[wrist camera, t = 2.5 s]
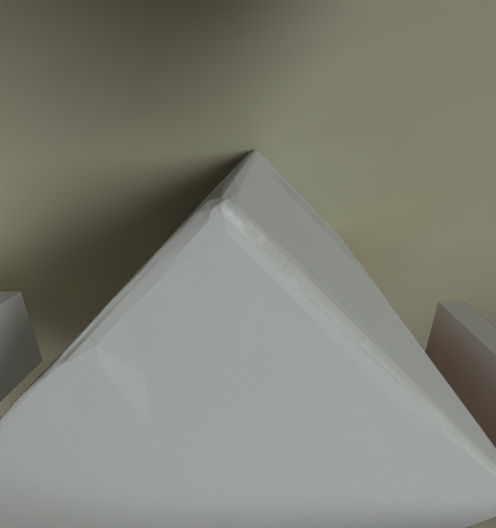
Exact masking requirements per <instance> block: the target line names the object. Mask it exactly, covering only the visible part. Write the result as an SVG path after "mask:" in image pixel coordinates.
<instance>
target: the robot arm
mask: <svg viewBox="0 0 496 528" xmlns="http://www.w3.org/2000/svg"><path fill="white" fill-rule="evenodd" d="M425 353H426V354H427V356H428V357H429V358H430V360H431V361H432V362H433V364H434V365H435V366H436V368H437V369H438V370H439V372H440V373H441V375H442V376H443V377H444V379H445V380H446V381H447V383H448V384H449V385H450V387H451V388H452V389H453V391H454V392H455V393H456V395H457V396H458V398H459V399H460V400H461V402H462V403H463V404H464V406H465V407H466V408H467V410H468V411H469V412H470V414H471V415H472V416H473V418H474V419H475V421H476V422H477V423H478V425H479V426H480V427H481V429H482V430H483V431H484V433H485V434H486V436H487V437H488V438H489V440H490V441H491V443H492V444H493V445H494V447H495V448H496V327H494V326H493V325H492V324H491V323H489V322H488V321H487V320H486V319H485V318H483V317H482V316H481V315H480V314H478V313H477V312H476V311H475V310H473V309H472V308H471V307H470V306H468V305H467V304H466V303H465V302H438V305H437V309H436V313H435V317H434V321H433V325H432V329H431V332H430V336H429V340H428V344H427V348H426V352H425ZM40 362H42V358H41V354H40V351H39V348H38V345H37V341H36V338H35V335H34V332H33V329H32V325H31V322H30V319H29V316H28V312H27V309H26V306H25V303H24V300H23V296H22V293H21V292H17V291H0V402H1V401H2V400H3V399H4V398H5V397H6V396H7V395H8V394H9V393H10V392H11V391H12V390H13V389H14V388H15V387H16V386H17V385H18V384H19V383H20V382H21V381H22V380H23V379H24V378H25V377H26V376H27V375H28V374H29V373H30V372H31V371H32V370H33V369H34V368H35V367H36V366H37V365H38V364H39V363H40Z"/></svg>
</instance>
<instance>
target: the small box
mask: <svg viewBox="0 0 496 528" xmlns="http://www.w3.org/2000/svg"><path fill="white" fill-rule="evenodd" d="M493 517H496V448H495V447H494V445H493V444H492V443H491V441H490V440H489V438H488V437H487V436H486V434H485V433H484V431H483V430H482V429H481V427H480V426H479V425H478V423H477V422H476V421H475V419H474V418H473V416H472V415H471V414H470V412H469V411H468V410H467V408H466V407H465V406H464V404H463V403H462V402H461V400H460V399H459V398H458V396H457V395H456V393H455V392H454V391H453V389H452V388H451V387H450V385H449V384H448V383H447V381H446V380H445V379H444V377H443V376H442V375H441V373H440V372H439V370H438V369H437V368H436V366H435V365H434V364H433V362H432V361H431V360H430V358H429V357H428V356H427V354H426V353H425V352H424V350H423V349H422V347H421V346H420V345H419V343H418V342H417V341H416V339H415V338H414V337H413V335H412V334H411V332H410V331H409V330H408V328H407V327H406V326H405V324H404V323H403V322H402V320H401V319H400V318H399V316H398V315H397V314H396V312H395V311H394V310H393V308H392V307H391V306H390V304H389V303H388V301H387V300H386V299H385V297H384V296H383V294H382V293H381V292H380V290H379V289H378V288H377V286H376V285H375V284H374V282H373V281H372V280H371V278H370V277H369V276H368V274H367V273H366V272H365V270H364V269H363V267H362V266H361V265H360V263H359V262H358V261H357V259H356V258H355V257H354V255H353V254H352V253H351V252H350V250H349V249H348V247H347V246H346V245H345V243H344V242H343V241H342V239H341V238H340V237H339V236H338V234H337V233H336V232H335V231H334V230H333V229H332V228H331V227H330V226H329V225H328V224H327V223H326V221H325V220H324V219H323V218H322V217H321V216H320V215H319V214H318V213H317V212H316V211H315V210H314V209H313V208H312V207H311V206H310V205H309V204H308V203H307V202H306V201H305V199H304V198H303V197H302V196H301V195H300V194H299V193H298V192H297V191H296V190H295V189H294V188H293V187H292V186H291V185H290V184H289V183H288V182H287V181H286V180H285V179H284V178H283V176H282V175H281V174H280V173H279V172H278V171H277V170H276V169H275V168H274V167H273V166H272V165H271V164H270V163H269V162H268V161H267V160H266V159H265V158H264V157H263V156H262V155H261V154H260V153H259V152H258V151H257V150H255V149H253V150H252V151H251V152H250V153H248V155H247V156H246V157H245V158H244V159H243V160H242V161H241V162H240V163H239V164H238V165H237V166H236V167H235V168H234V169H233V170H232V171H231V172H230V173H229V174H228V175H227V176H226V177H225V178H224V179H223V180H222V181H221V182H220V183H219V184H218V186H217V187H216V188H215V189H214V190H213V191H212V192H211V193H210V194H209V195H208V196H207V197H206V198H205V200H204V201H203V202H202V203H201V204H200V205H199V206H198V207H197V208H196V209H195V210H194V211H193V212H192V213H191V215H190V216H189V217H188V218H187V219H186V220H185V221H184V222H183V223H182V224H181V225H180V226H179V227H178V228H177V229H176V231H175V232H174V233H173V234H172V235H171V236H170V237H169V238H168V239H167V240H166V241H165V242H164V243H163V244H162V245H161V247H160V248H159V249H158V250H157V251H156V252H155V253H154V254H153V255H152V256H151V257H150V258H149V259H148V260H147V262H146V263H145V264H144V265H143V266H142V267H141V268H140V269H139V270H138V271H137V272H136V273H135V274H134V275H133V276H132V278H131V279H130V280H129V281H128V282H127V283H126V284H125V285H124V286H123V287H122V288H121V289H120V290H119V291H118V293H117V294H116V295H115V296H114V297H113V298H112V299H111V300H110V301H109V302H108V303H107V304H106V305H105V306H104V307H103V309H102V310H101V311H100V312H99V313H98V314H97V315H96V316H95V317H94V318H93V319H92V320H91V321H90V323H89V324H88V325H87V326H86V327H85V328H84V329H83V330H82V331H81V332H80V333H79V334H78V336H77V337H76V338H75V339H74V340H73V341H72V342H71V343H70V344H69V345H68V346H67V347H66V349H65V350H64V351H63V352H62V353H61V354H60V355H59V356H58V357H57V358H56V359H55V360H54V361H53V362H52V363H51V364H50V365H49V366H48V368H47V369H46V370H45V371H44V372H43V373H42V374H41V375H40V376H39V377H38V378H37V379H36V380H35V381H34V382H33V383H32V384H31V386H30V387H29V388H28V389H27V390H26V391H25V392H24V393H23V394H22V395H21V396H20V397H19V398H18V399H17V400H16V401H15V403H14V404H13V405H12V406H11V407H10V408H9V409H8V410H7V412H6V413H5V414H4V415H3V416H2V417H1V418H0V528H468V527H470V526H473V525H475V524H478V523H480V522H483V521H485V520H488V519H490V518H493Z"/></svg>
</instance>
